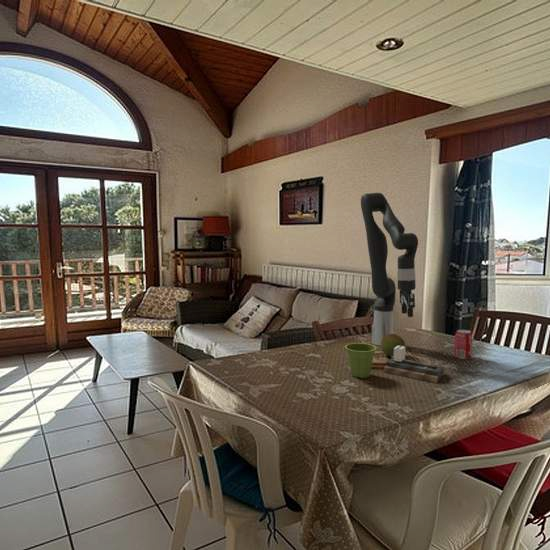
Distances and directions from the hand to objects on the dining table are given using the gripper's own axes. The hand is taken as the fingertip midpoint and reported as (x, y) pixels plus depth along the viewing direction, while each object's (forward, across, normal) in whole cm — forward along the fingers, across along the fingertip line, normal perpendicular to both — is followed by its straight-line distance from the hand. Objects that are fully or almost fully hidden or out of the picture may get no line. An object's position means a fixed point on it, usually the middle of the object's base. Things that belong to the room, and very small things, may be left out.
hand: (407, 315), depth 175 cm
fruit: (+19, 0, -6) cm, 20 cm away
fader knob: (+16, +18, -9) cm, 26 cm away
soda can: (+20, 0, +24) cm, 31 cm away
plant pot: (+18, +24, -26) cm, 40 cm away
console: (+19, +21, -4) cm, 29 cm away
